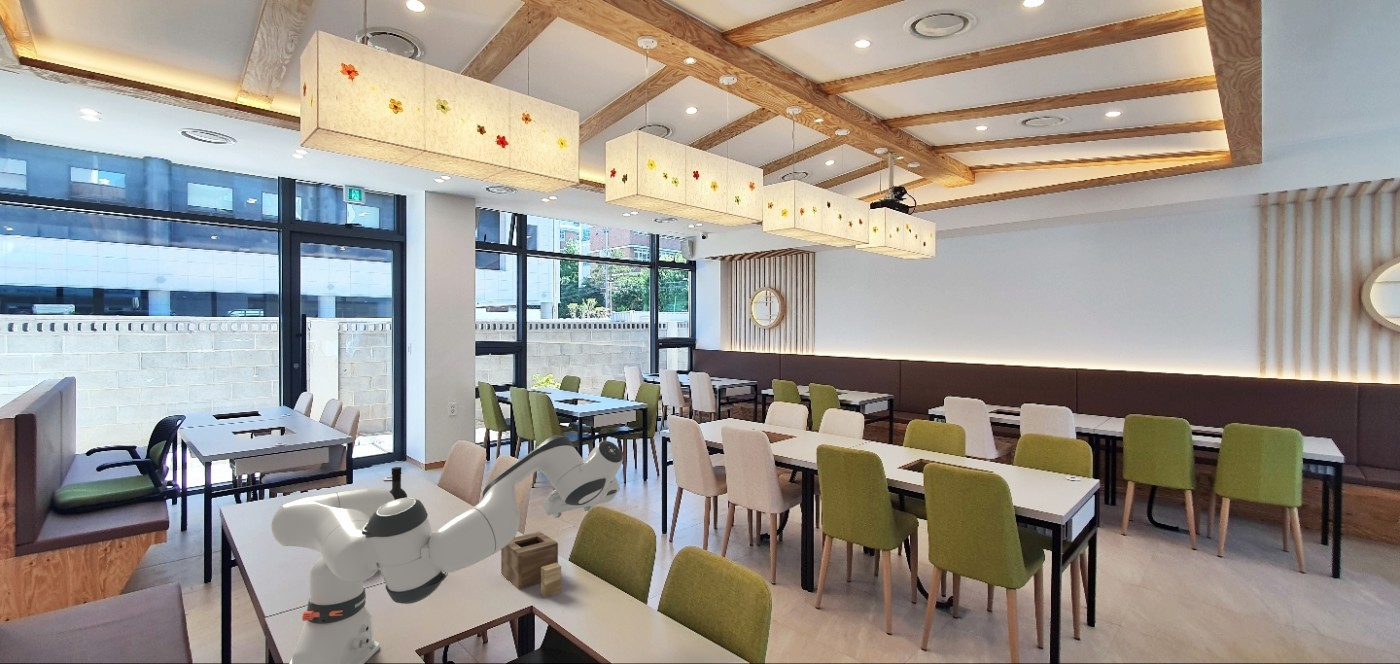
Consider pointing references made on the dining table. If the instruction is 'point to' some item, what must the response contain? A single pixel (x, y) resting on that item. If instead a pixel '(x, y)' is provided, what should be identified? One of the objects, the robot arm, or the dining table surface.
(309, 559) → the dining table surface
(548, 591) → the domino block
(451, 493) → the dining table surface
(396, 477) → the wine bottle
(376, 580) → the dining table surface
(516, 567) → the slot box
